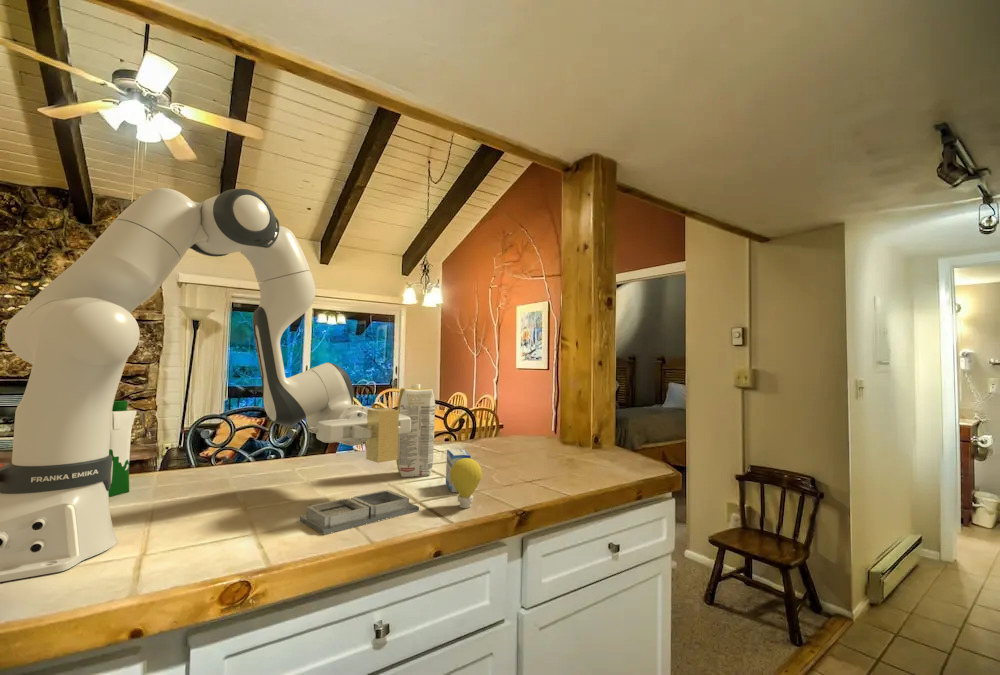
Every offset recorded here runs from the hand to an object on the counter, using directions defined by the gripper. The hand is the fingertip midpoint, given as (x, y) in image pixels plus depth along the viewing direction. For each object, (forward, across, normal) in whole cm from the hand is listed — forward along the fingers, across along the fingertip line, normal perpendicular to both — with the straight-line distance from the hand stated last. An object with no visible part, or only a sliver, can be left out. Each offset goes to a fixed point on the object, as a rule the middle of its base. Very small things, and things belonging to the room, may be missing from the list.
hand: (385, 432), depth 95 cm
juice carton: (-22, +23, +16) cm, 35 cm away
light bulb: (+8, +15, +16) cm, 23 cm away
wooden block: (-1, 0, +6) cm, 6 cm away
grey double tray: (-1, -4, +16) cm, 16 cm away
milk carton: (-50, -39, +16) cm, 65 cm away
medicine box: (-4, +23, +16) cm, 28 cm away
